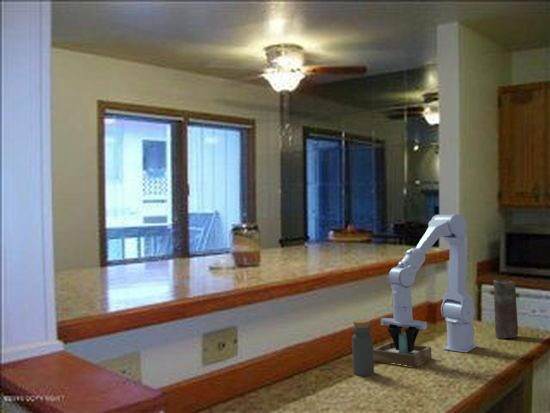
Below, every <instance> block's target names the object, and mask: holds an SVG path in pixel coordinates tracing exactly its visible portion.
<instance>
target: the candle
mask: <svg viewBox="0 0 550 413" xmlns="http://www.w3.org/2000/svg"><path fill="white" fill-rule="evenodd" d="M492 282H493V301H494V302H493V303H494V304H493V305H494V328H495V332H494V333H495V337H496V339H503V340H504V339H513V338H516V337H517V336H518V335H519V328H518V325H519V324H518V310H517V309H518V308H517V292H516V291H517V290H516V282H514V281H513V280H505V279H499V278H498V279H493V281H492Z"/></svg>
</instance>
